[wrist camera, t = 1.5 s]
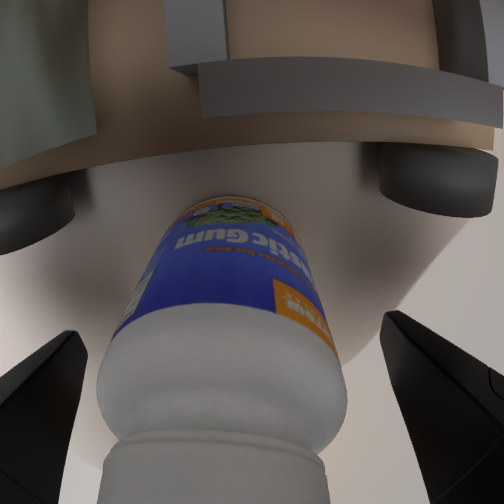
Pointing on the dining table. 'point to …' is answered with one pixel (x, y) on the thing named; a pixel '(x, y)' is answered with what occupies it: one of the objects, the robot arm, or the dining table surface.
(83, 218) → the dining table surface
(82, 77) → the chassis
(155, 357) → the pill bottle
